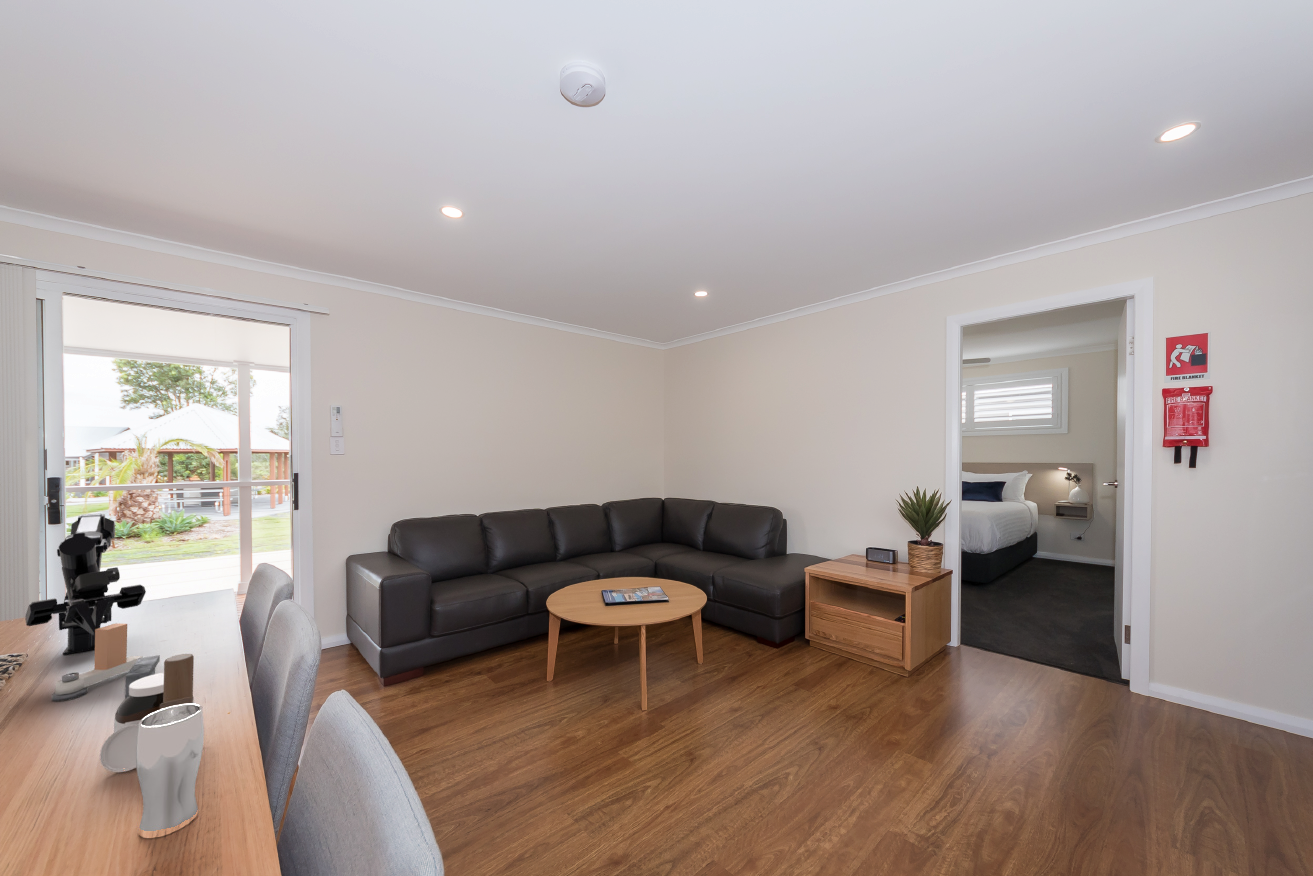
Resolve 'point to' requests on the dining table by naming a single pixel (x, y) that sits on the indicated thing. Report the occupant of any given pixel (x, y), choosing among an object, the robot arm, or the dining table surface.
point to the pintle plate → (69, 696)
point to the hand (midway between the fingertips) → (95, 633)
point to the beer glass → (169, 764)
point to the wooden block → (178, 680)
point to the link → (103, 659)
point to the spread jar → (131, 722)
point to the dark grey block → (141, 670)
